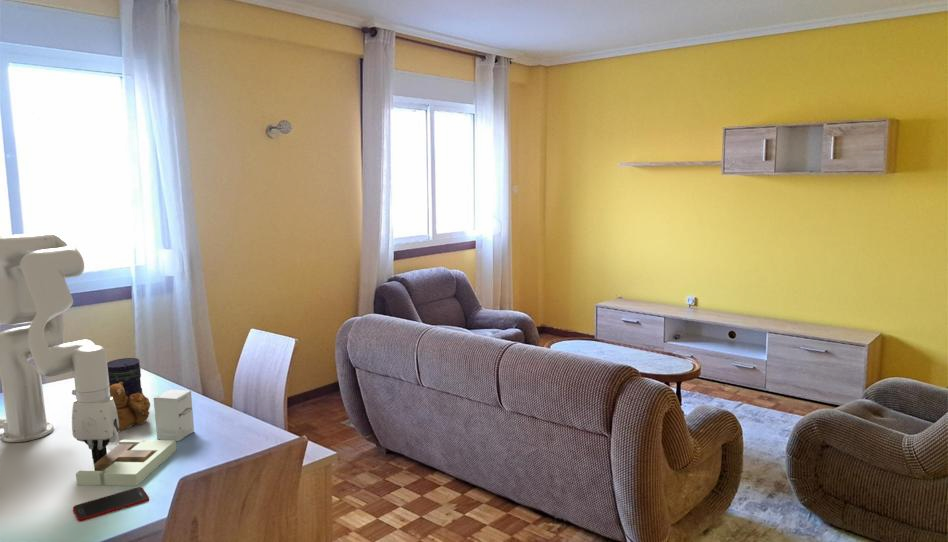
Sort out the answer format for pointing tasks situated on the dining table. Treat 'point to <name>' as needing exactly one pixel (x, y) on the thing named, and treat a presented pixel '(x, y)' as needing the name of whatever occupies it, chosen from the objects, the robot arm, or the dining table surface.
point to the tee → (122, 456)
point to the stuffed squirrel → (129, 407)
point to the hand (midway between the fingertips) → (100, 461)
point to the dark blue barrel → (126, 374)
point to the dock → (130, 465)
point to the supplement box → (173, 415)
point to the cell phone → (110, 503)
